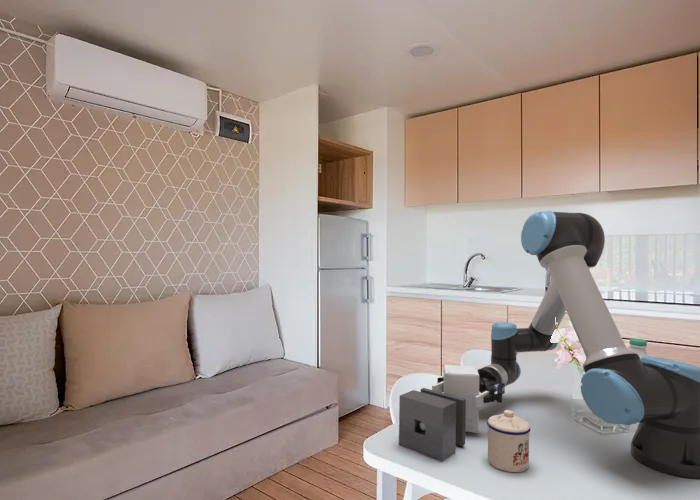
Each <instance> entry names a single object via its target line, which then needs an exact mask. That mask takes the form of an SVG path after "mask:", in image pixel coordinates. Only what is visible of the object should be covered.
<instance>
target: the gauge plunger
mask: <svg viewBox="0 0 700 500" xmlns="http://www.w3.org/2000/svg"><path fill="white" fill-rule="evenodd" d="M420 392H423V393H426V394H430V395H433V396H437V397H441V398H444V399H448V400H452V401H455V402H456V445H457V446H460V447H463V446H465V445H466V432H465V421H466V399H464V398H460V397H456V396H453V395H449V394H445V393H444V392H443V393H441V392H438V391H434V390H432V389H429V388H426V387H422V388H420ZM419 426H420V428H421V429H422V430H426V423H425V422H422V421H421V422H420V424H419Z"/></svg>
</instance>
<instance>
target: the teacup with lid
mask: <svg viewBox="0 0 700 500" xmlns="http://www.w3.org/2000/svg"><path fill="white" fill-rule="evenodd" d="M486 424H487V461H488V462H489V464H490V465H491V466H493V467H494V468H495V469H498V470H501V471H504V472H508V473H522V472H524V471H527V470H528V469H529V466H530V464H529V463H530V458H529V457H530V432H531V427H530V424H529V423H528V422H527V421H526V420H525V419H523V418H521V417H518V416H517V415H514V412H513V411H512V410H510V409H505V410H504V411H503V413H500V414H496V415H492V416H490V417H489V418H488V419H487V422H486Z"/></svg>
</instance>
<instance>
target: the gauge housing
mask: <svg viewBox="0 0 700 500" xmlns="http://www.w3.org/2000/svg"><path fill="white" fill-rule="evenodd" d="M398 402H399V405H398V406H399V412H398V415H399V416H398V417H399V418H398V445H399V446H401V447H404V448H406V449H408V450H410V451H413V452H416V453H418V454H421V455H424V456H426V457H429V458H431V459H434V460H437V461H439V462H441V463H442V462H444V461H446V460H447V459H449V458H451V456H453V455H455V454H456V452H457V451H456V447H457V446H456V445H457V444H456V402H455V401H452V400H448V399H444V398H441V397H437V396H433V395H430V394H426V393H423V392H421V391H418V390H416V389H415V390H414V389H413V390H410V391H408V392H404V393H403V394H400V395H399V401H398ZM421 421H422V422H425V423H426V430H422V429H421V428H420V426H419V424H420V422H421Z"/></svg>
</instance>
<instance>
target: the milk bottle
mask: <svg viewBox="0 0 700 500" xmlns="http://www.w3.org/2000/svg"><path fill="white" fill-rule="evenodd" d="M647 344H648V342H647V340H646V339H641V338H630V339H629V346H630V348H629V349H630V350H632V351H634V352H636V353H638V355H639V357H640V359H641V358H642V357H643V356H649V355H648V352H647V350H646V349H647Z"/></svg>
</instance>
